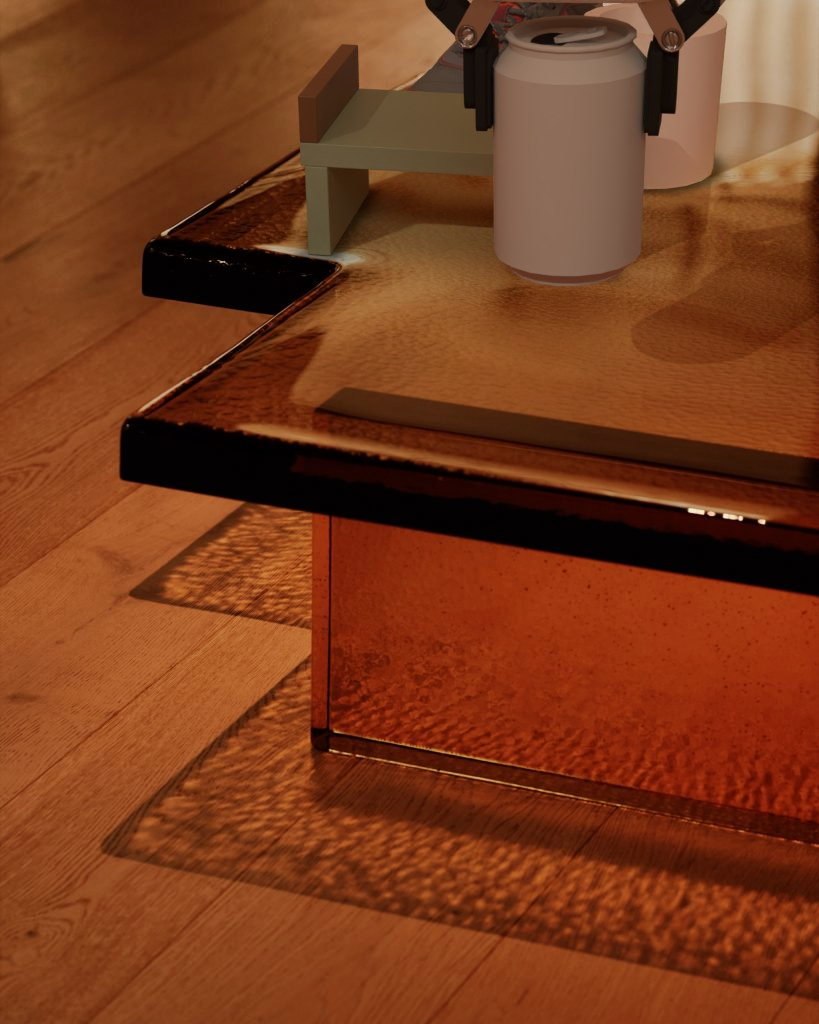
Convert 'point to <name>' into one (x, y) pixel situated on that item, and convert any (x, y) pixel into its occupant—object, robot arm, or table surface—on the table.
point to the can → (569, 149)
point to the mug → (682, 102)
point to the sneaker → (450, 64)
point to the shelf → (376, 142)
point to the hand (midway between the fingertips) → (569, 123)
